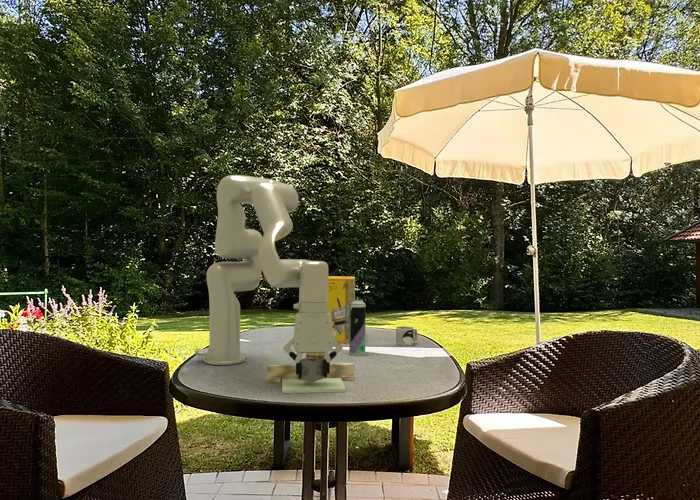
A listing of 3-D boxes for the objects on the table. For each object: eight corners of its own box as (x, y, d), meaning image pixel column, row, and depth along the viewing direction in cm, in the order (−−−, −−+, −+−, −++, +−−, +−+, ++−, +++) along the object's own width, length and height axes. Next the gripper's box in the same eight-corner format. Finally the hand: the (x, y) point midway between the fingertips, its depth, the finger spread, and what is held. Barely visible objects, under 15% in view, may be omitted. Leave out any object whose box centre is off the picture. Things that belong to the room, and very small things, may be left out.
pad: (282, 393, 133) (282, 390, 133) (281, 382, 144) (282, 379, 144) (346, 391, 135) (346, 388, 135) (340, 381, 146) (341, 378, 146)
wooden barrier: (267, 382, 144) (267, 367, 144) (267, 377, 149) (267, 363, 149) (355, 380, 147) (355, 365, 147) (352, 376, 152) (352, 361, 152)
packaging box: (354, 343, 205) (354, 278, 205) (311, 343, 205) (312, 278, 205) (354, 336, 221) (354, 276, 221) (315, 336, 221) (315, 276, 221)
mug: (404, 347, 198) (404, 329, 198) (392, 344, 203) (392, 327, 203) (423, 344, 204) (423, 327, 204) (410, 342, 210) (410, 325, 210)
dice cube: (313, 382, 136) (313, 362, 136) (297, 379, 139) (297, 360, 139) (324, 378, 140) (324, 359, 140) (308, 375, 143) (308, 357, 143)
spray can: (353, 356, 180) (354, 297, 180) (346, 353, 185) (347, 295, 185) (368, 354, 183) (368, 296, 183) (360, 352, 188) (361, 295, 188)
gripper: (280, 309, 135) (279, 381, 135) (348, 309, 137) (347, 379, 137) (280, 306, 142) (279, 374, 142) (344, 306, 144) (343, 373, 145)
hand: (312, 376), depth 140 cm, fingers closed on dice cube, 6 cm apart
